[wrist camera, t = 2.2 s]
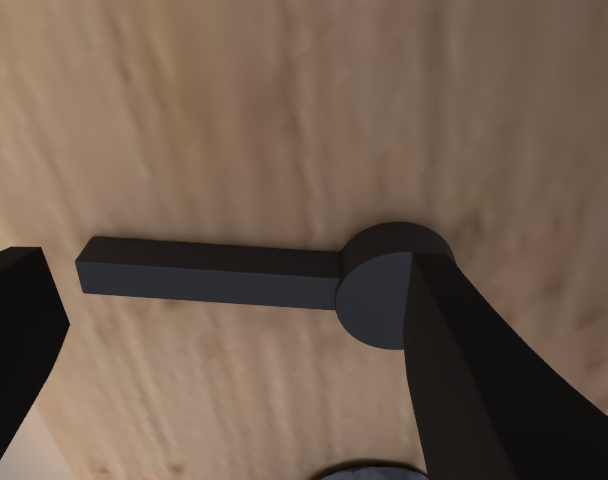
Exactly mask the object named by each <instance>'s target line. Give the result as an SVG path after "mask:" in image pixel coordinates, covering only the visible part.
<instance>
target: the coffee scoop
mask: <svg viewBox="0 0 608 480" xmlns="http://www.w3.org/2000/svg"><path fill="white" fill-rule="evenodd" d="M413 253H446V254H447V255H448V256H449V257H450V258H451V260H452V261H453V262H454V263H455V264H456V262H455V259H454V256H453V253H452V251H451V249H450V247H449V245H448V244H447V243H446V242H445V240H444V239H443V238H441V237H440V236H439V235H438V234H436V233H435V232H433V231H432V230H430V229H428V228H425V227H423V226H420V225H416V224H412V223H404V222H394V223H386V224H381V225H377V226H374V227H371V228H369V229H367V230H365V231H363V232H361V233H359V234H358V235H356V236H355V237H354V238H353V239H351V240H350V241H349V242H348V243H347V244H346V246H345V247H344V248H343V250H342V251H341V253H332V252H317V251H302V250H287V249H271V248H256V247H241V246H226V245H211V244H196V243H181V242H166V241H150V240H135V239H120V238H105V237H92V238H91V239H90V241H89V242H88V243H87V245H86V246H85V248H84V249H83V250H82V252H81V253H80V255H79V256H78V257H77V259H76V260H75V264H76V268H77V272H78V276H79V280H80V283H81V287H82V291H83V293H86V294H101V295H116V296H131V297H146V298H160V299H175V300H190V301H205V302H220V303H234V304H249V305H264V306H279V307H294V308H308V309H323V310H336V313H337V316H338V319H339V321H340V322H341V324H342V326H343V327H344V328H345V330H346V331H347V332H348V333H349V334H351V335H352V336H353V337H355V338H356V339H358V340H359V341H361V342H363V343H365V344H368V345H370V346H374V347H377V348H382V349H390V350H402V349H404V343H403V324H404V316H405V309H406V301H407V293H408V285H409V277H410V270H411V262H412V254H413ZM456 266H457V265H456Z"/></svg>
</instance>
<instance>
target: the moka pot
mask: <svg viewBox="0 0 608 480" xmlns="http://www.w3.org/2000/svg"><path fill="white" fill-rule="evenodd" d="M320 480H429V478H427V477H426V476H424V475H422V474H420V473H418V472H413V471H411V470H408V469H404V468H399V467H358V468H352V469H347V470H343V471H340V472H336V473H334V474H332V475H328V476H325V477H324V478H322V479H320Z"/></svg>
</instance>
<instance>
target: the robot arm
mask: <svg viewBox="0 0 608 480" xmlns="http://www.w3.org/2000/svg"><path fill="white" fill-rule="evenodd" d="M69 326H70V323H69V320H68V317H67V315H66V312H65V309H64V307H63V304H62V301H61V299H60V296H59V293H58V291H57V288H56V285H55V283H54V280H53V277H52V275H51V272H50V269H49V267H48V264H47V261H46V259H45V256H44V253H43V251H42V248H41V247H9V248H7V249H5V250H3V251H0V460H1V458H2V456H3V455H4V453H5V451H6V449H7V448H8V446H9V444H10V443H11V441H12V439H13V437H14V436H15V434H16V432H17V430H18V429H19V427H20V425H21V424H22V422H23V420H24V418H25V417H26V415H27V413H28V411H29V410H30V408H31V406H32V405H33V403H34V401H35V399H36V398H37V396H38V394H39V392H40V391H41V389H42V387H43V385H44V383H45V382H46V380H47V378H48V376H49V374H50V373H51V371H52V369H53V366H54V364H55V362H56V359H57V357H58V355H59V352H60V350H61V347H62V345H63V342H64V339H65V337H66V334H67V331H68V329H69ZM403 343H404V354H405V364H406V373H407V381H408V386H409V391H410V395H411V400H412V404H413V409H414V414H415V418H416V423H417V427H418V432H419V436H420V441H421V445H422V450H423V454H424V459H425V463H426V468H427V472H428V477H429V480H608V416H607V415H605V414H604V413H603V412H602V411H601V410H599V409H598V408H597V407H596V406H595V405H593V404H592V403H591V402H590V401H589V400H587V399H586V398H585V397H584V396H583V395H581V394H580V393H579V392H578V391H577V390H575V389H574V388H573V387H572V386H571V385H570V384H569V383H567V382H566V381H565V380H564V379H563V378H562V377H561V376H560V375H558V374H557V373H556V372H555V371H554V370H553V369H552V368H551V367H550V366H549V365H548V364H547V363H546V362H545V361H544V360H543V359H542V358H540V357H539V356H538V355H537V354H536V353H535V352H534V351H533V350H532V349H531V348H530V347H529V346H528V345H527V344H526V343H525V342H524V341H523V340H522V339H521V338H520V337H519V336H518V335H517V334H516V332H515V331H514V330H513V329H512V328H511V327H510V326H509V325H508V324H507V323H506V322H505V321H504V320H503V319H502V317H501V316H500V315H499V314H498V313H497V312H496V311H495V310H494V309H493V308H492V307H491V305H490V304H489V303H488V302H487V301H486V300H485V299H484V297H483V296H482V295H481V294H480V293H479V292H478V290H477V289H476V288H475V287H474V286H473V285H472V283H471V282H470V281H469V280H468V279H467V278H466V276H465V275H464V274H463V273H462V272H461V270H460V269H459V268H458V267H457V266H456V264H455V263H454V262H453V261H452V260H451V258H450V257H449V256H448V255H447V254H446V253H413V254H412V262H411V270H410V277H409V285H408V293H407V301H406V309H405V316H404V324H403Z"/></svg>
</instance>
